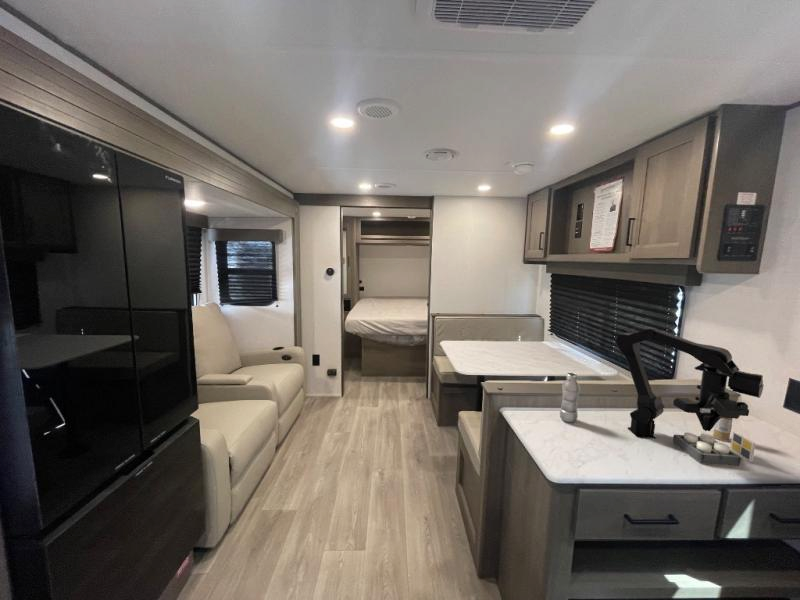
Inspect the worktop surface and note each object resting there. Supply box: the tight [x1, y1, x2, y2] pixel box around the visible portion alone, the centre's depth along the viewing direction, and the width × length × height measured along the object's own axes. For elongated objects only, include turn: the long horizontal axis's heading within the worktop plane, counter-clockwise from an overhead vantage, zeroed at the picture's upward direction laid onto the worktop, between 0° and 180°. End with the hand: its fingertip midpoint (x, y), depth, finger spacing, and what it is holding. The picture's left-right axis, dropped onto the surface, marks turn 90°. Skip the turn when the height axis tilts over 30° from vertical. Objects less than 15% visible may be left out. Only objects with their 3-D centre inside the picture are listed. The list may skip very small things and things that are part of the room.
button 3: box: [699, 433, 716, 445], centre depth 109 cm, size 4×4×2 cm
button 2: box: [696, 441, 712, 453], centre depth 104 cm, size 4×4×2 cm
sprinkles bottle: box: [712, 418, 733, 442], centre depth 115 cm, size 5×5×14 cm
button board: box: [672, 434, 742, 467], centre depth 107 cm, size 12×12×3 cm
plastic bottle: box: [559, 372, 581, 423], centre depth 127 cm, size 6×7×20 cm
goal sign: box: [729, 431, 757, 464], centre depth 105 cm, size 1×7×7 cm, turn 174°
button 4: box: [713, 441, 731, 455], centre depth 103 cm, size 4×4×2 cm
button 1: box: [683, 432, 699, 444], centre depth 109 cm, size 4×4×2 cm
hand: (706, 430), depth 103 cm, fingers closed
